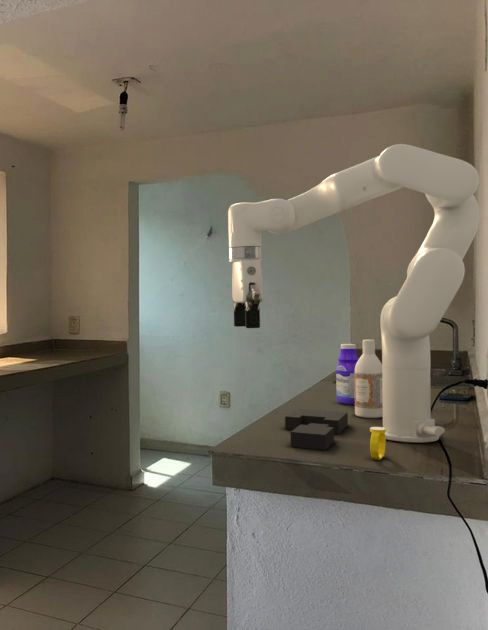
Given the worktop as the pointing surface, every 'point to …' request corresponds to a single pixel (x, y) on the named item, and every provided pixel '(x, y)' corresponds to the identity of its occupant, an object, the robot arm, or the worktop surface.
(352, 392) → the bottle
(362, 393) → the bath foam
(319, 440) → the tongue pad
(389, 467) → the worktop surface
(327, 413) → the notch pad
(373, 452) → the watch
